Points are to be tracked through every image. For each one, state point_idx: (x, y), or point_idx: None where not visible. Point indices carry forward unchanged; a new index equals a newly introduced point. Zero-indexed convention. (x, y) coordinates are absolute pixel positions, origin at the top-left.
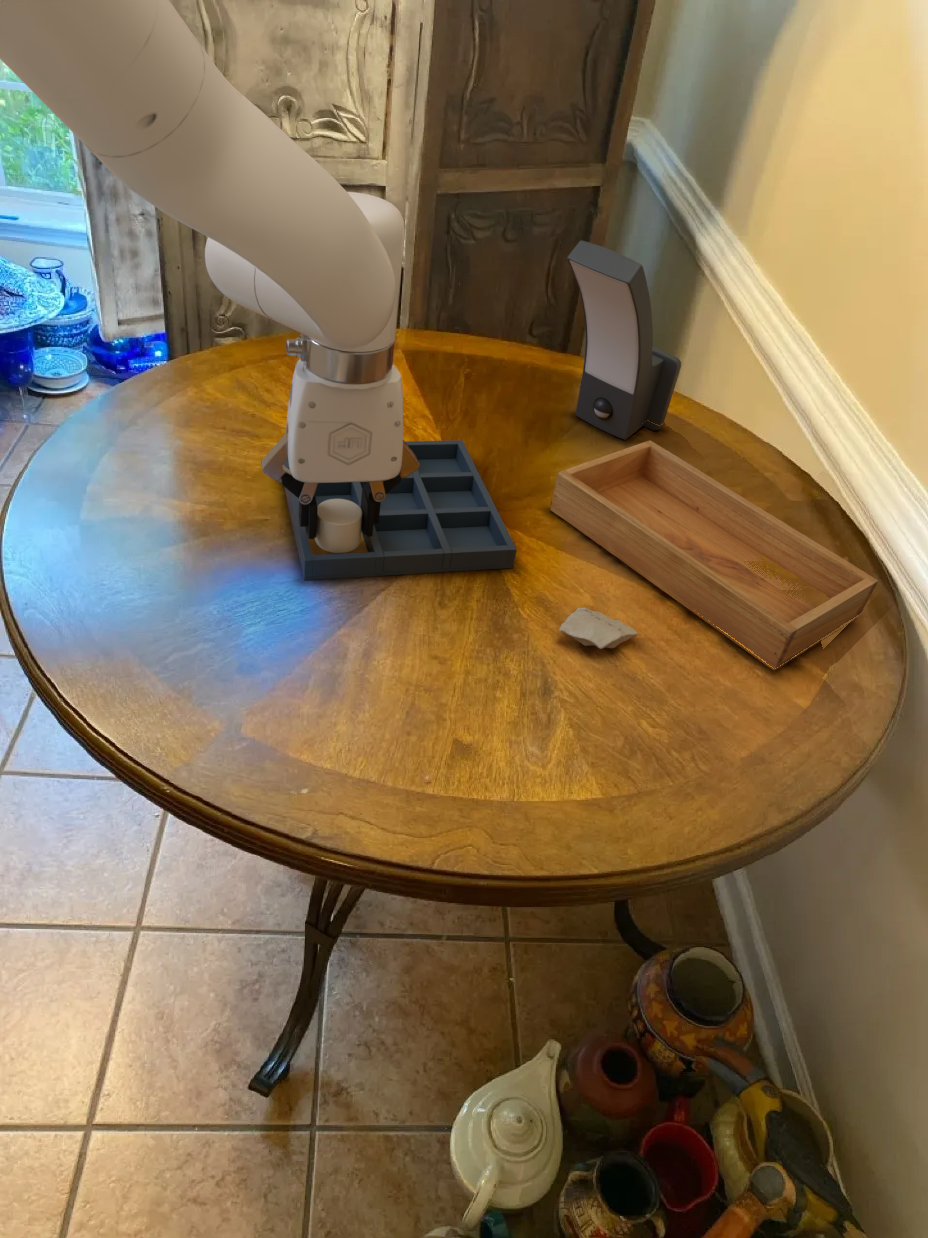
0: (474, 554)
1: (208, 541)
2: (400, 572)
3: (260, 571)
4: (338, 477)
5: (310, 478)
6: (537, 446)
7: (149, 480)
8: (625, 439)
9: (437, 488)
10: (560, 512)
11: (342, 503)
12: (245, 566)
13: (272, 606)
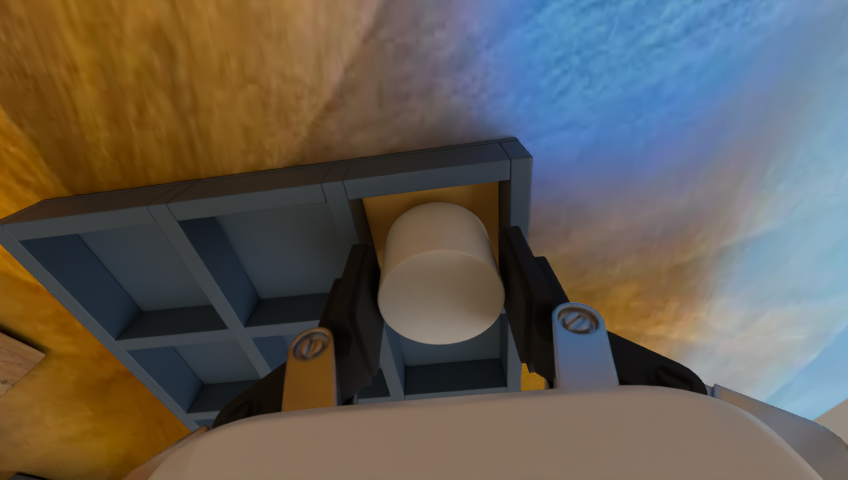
0: (95, 208)
1: (679, 251)
2: (291, 168)
3: (606, 166)
4: (494, 427)
5: (667, 412)
6: (139, 457)
7: (712, 375)
8: (13, 475)
9: None
10: (9, 348)
11: (430, 329)
12: (633, 181)
13: (616, 23)
